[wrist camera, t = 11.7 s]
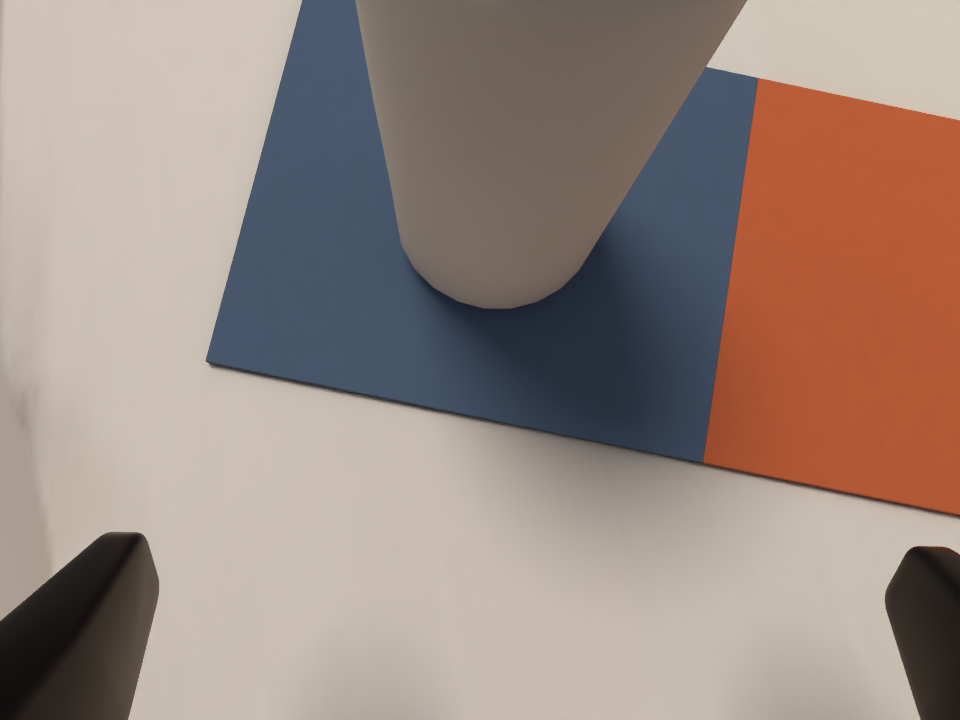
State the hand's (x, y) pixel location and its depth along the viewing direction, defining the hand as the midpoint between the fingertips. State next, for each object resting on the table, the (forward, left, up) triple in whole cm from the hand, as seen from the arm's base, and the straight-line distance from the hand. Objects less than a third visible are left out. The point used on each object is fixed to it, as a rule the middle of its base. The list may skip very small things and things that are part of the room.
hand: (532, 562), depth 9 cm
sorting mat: (+5, -7, -8) cm, 12 cm away
